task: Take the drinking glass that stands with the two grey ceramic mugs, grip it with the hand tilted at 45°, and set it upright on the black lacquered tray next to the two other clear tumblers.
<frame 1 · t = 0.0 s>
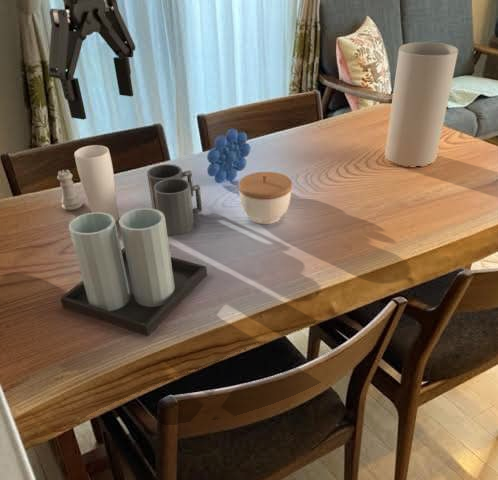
hand: (103, 106, 98), 24 cm above the table, tool pointing down, fingers open, 13 cm apart
tumbler b: (110, 301, 92), resting on tray
cylinder vase: (409, 159, 135), on the table
drinking glass: (106, 221, 114), on the table
grey mug far: (169, 211, 116), on the table
tumbler a: (155, 296, 92), resting on tray
tray: (137, 290, 94), on the table
rook chess piece: (72, 207, 119), on the table
grey mug near: (176, 226, 111), on the table
grapes: (228, 180, 128), on the table
trinket box: (265, 217, 113), on the table
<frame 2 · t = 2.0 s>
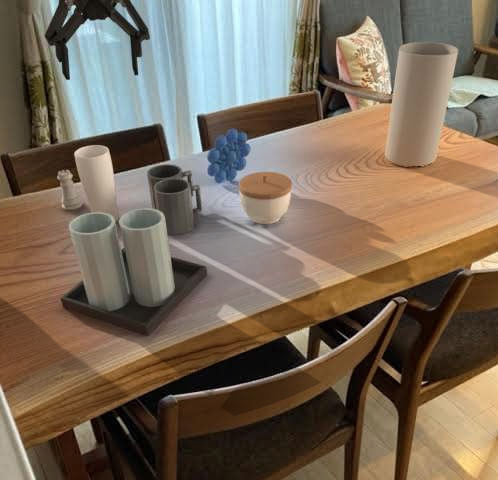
hand: (101, 74, 107), 26 cm above the table, tool tilted 45°, fingers open, 13 cm apart
nothing on the table moved.
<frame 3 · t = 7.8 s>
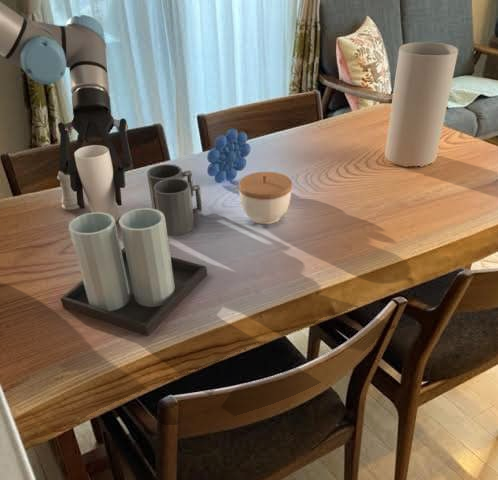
hand: (99, 204, 107), 5 cm above the table, tool tilted 45°, fingers closed on drinking glass, 7 cm apart
drinking glass: (106, 221, 114), on the table, touching gripper
everything else where it was.
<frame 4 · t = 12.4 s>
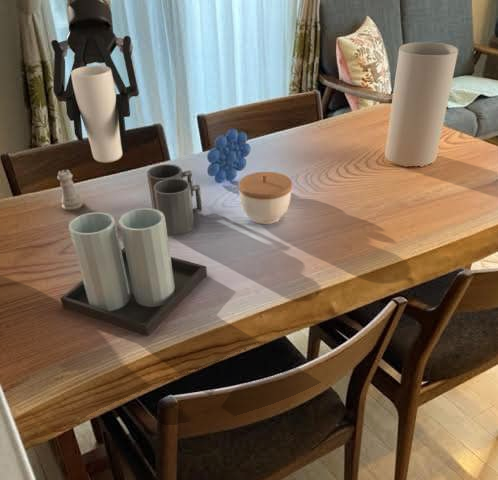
hand: (100, 135, 92), 22 cm above the table, tool tilted 45°, fingers closed on drinking glass, 7 cm apart
drinking glass: (108, 158, 99), point 16 cm above the table, touching gripper
everything else where it was.
when the fingers open (8 cm above the table, at t = 17.4 s): drinking glass stays where it is, point 2 cm above the table.
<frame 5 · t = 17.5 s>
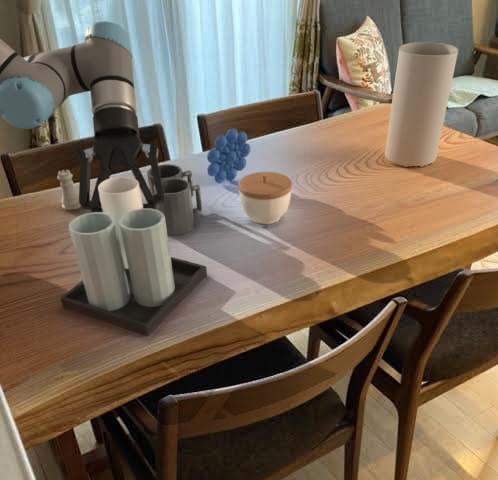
hand: (127, 245, 91), 8 cm above the table, tool tilted 45°, fingers open, 7 cm apart
drinking glass: (133, 263, 97), point 2 cm above the table
everything else where it was.
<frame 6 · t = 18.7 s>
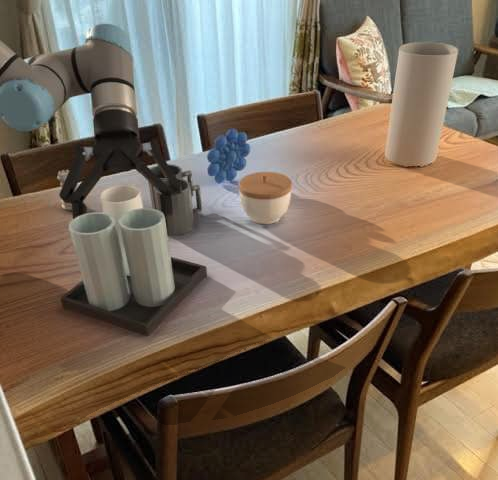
hand: (125, 237, 91), 9 cm above the table, tool tilted 45°, fingers open, 13 cm apart
drinking glass: (134, 270, 98), resting on tray
everything else where it was.
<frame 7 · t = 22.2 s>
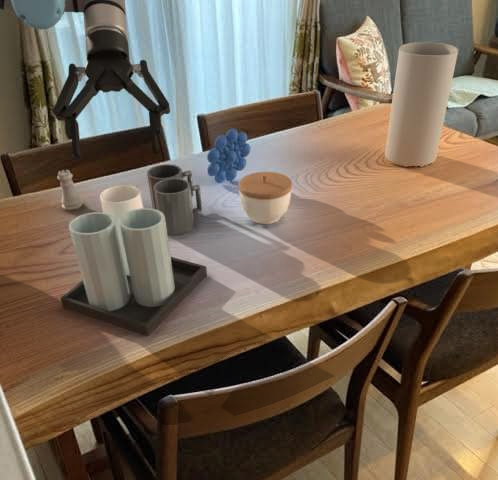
hand: (116, 153, 95), 18 cm above the table, tool tilted 45°, fingers open, 13 cm apart
nothing on the table moved.
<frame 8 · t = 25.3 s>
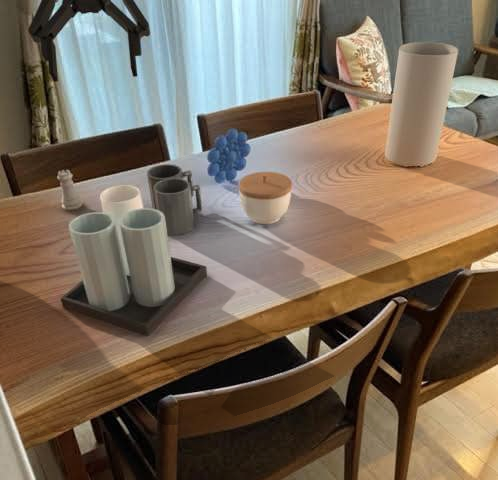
hand: (94, 75, 92), 30 cm above the table, tool tilted 45°, fingers open, 13 cm apart
nothing on the table moved.
at the end: drinking glass inside the target area in the tray (6.1 cm from its centre), point 0.3 cm above the tray's base; drinking glass tilted 0°; drinking glass 9.2 cm from the tumbler b (horizontally) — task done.
